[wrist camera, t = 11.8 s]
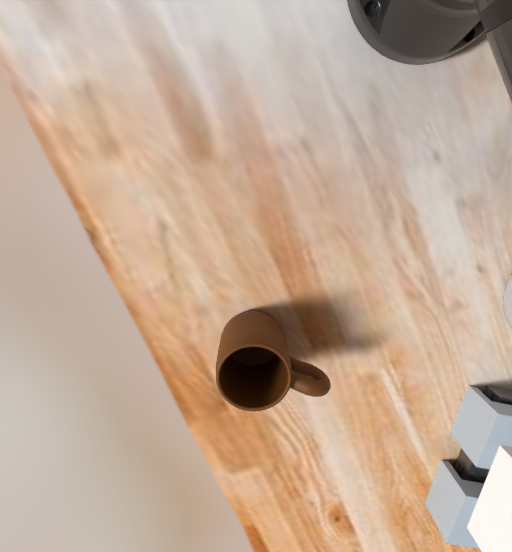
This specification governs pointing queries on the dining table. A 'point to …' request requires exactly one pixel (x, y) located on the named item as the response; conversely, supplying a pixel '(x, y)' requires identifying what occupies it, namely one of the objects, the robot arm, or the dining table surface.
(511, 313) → the cylinder vase
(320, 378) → the mug
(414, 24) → the robot arm
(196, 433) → the dining table surface
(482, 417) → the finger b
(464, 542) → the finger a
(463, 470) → the rail
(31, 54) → the dining table surface
